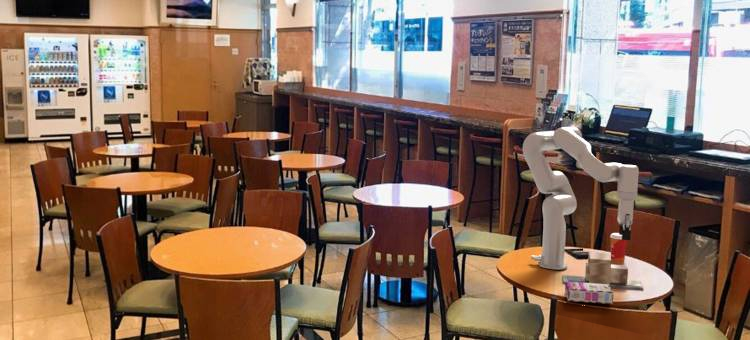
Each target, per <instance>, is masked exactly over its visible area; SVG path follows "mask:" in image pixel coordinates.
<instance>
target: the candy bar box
mask: <svg viewBox="0 0 750 340" xmlns="http://www.w3.org/2000/svg"><path fill="white" fill-rule="evenodd" d="M564 294H565V297H566V299H567V302H577V303H578V302H579V303H594V304H605V305H606V304H608V305H613V304H614V291H613V288H610V286H609V284H596V283H579V282H566V283H565V286H564Z"/></svg>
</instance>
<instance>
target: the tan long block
mask: <svg viewBox="0 0 750 340" xmlns="http://www.w3.org/2000/svg"><path fill="white" fill-rule="evenodd" d="M588 252H589V254H588V259H587V263H590V271H589V281H587V280H586V278H585V276H580V275H579V276H578V275H569V274H568V275H567V274H562V284H565V283H566V282H579V283H596V284H609V286H610V288H611V289H623V290H624V289H625V290H634V291H635V290H637V291H638V290H639V291H644V286H643V284H642V282H641V281H640V280H632V279H631V280H630V279H628V280H627V284H624V283H612V282H610V273H611V264H612V261H611V255H610V253H609V252H594V251H588Z"/></svg>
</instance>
